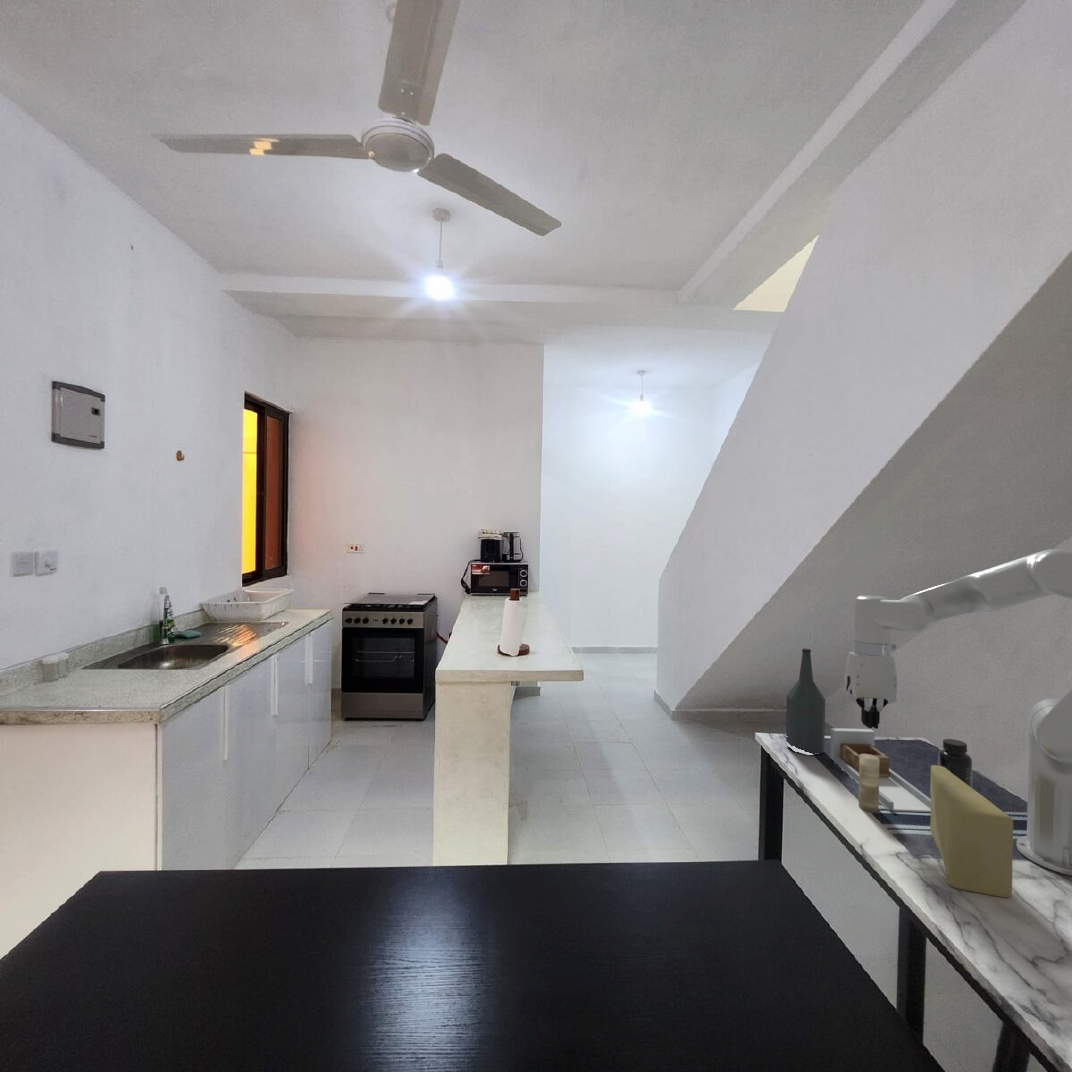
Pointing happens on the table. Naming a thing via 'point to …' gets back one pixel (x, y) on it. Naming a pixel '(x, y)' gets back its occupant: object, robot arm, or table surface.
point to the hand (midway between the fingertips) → (870, 726)
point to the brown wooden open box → (854, 750)
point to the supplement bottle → (956, 760)
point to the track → (891, 789)
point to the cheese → (970, 836)
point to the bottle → (806, 711)
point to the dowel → (869, 782)
